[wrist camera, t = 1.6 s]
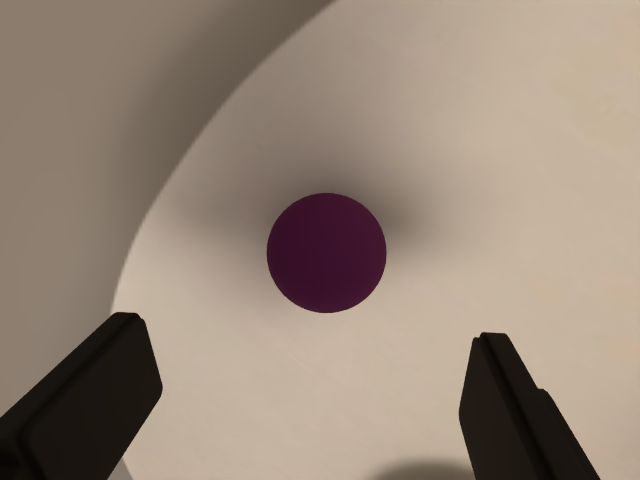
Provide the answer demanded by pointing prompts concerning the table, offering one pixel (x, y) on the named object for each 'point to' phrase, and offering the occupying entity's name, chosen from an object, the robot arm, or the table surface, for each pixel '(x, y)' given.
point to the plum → (326, 253)
